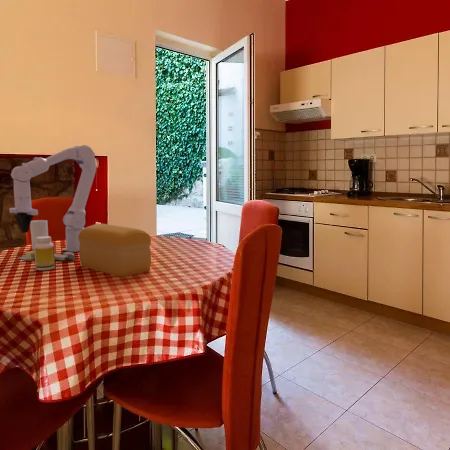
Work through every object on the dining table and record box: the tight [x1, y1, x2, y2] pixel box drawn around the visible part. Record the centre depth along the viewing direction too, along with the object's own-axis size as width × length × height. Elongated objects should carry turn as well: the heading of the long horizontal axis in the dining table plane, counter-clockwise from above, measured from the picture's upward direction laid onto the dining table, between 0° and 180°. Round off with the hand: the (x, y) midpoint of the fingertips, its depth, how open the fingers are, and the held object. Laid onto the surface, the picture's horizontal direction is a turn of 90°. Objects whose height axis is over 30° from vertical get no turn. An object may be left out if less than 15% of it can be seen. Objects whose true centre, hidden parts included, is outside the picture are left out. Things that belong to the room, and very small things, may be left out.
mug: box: [29, 219, 49, 251], centre depth 171 cm, size 10×7×12 cm, turn 4°
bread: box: [78, 223, 152, 278], centre depth 138 cm, size 24×13×15 cm, turn 52°
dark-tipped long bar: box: [54, 252, 76, 263], centre depth 153 cm, size 3×18×2 cm, turn 61°
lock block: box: [24, 250, 35, 260], centre depth 150 cm, size 4×4×2 cm
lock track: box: [17, 255, 35, 262], centre depth 151 cm, size 4×8×1 cm, turn 62°
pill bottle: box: [33, 235, 56, 271], centre depth 136 cm, size 6×6×11 cm
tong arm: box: [54, 251, 74, 262], centre depth 151 cm, size 3×17×3 cm, turn 64°
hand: (24, 232), depth 155 cm, fingers closed
